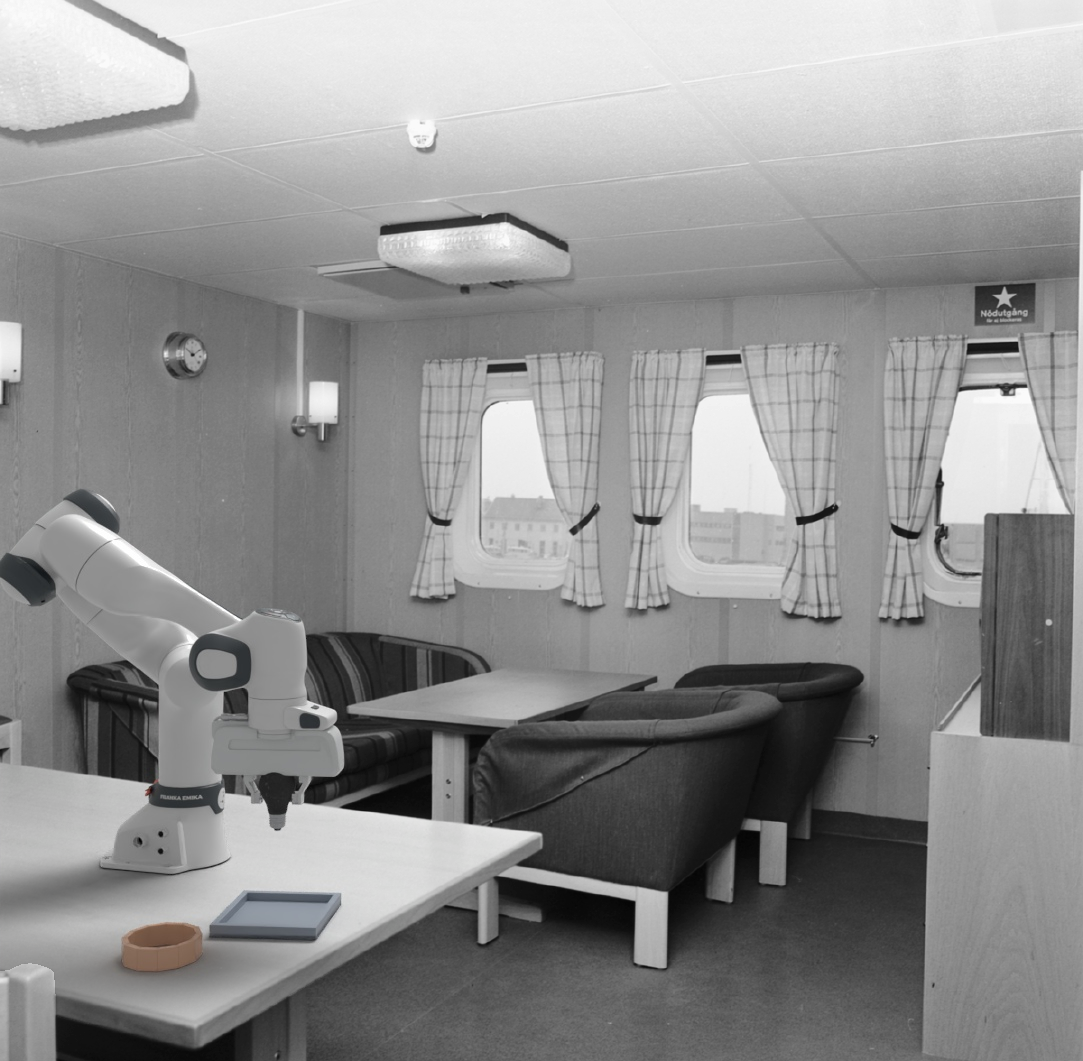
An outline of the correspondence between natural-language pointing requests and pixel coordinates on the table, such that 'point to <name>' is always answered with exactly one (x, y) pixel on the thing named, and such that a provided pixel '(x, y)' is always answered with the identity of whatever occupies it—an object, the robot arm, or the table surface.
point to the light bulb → (277, 796)
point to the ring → (149, 958)
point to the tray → (276, 915)
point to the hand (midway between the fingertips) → (277, 803)
